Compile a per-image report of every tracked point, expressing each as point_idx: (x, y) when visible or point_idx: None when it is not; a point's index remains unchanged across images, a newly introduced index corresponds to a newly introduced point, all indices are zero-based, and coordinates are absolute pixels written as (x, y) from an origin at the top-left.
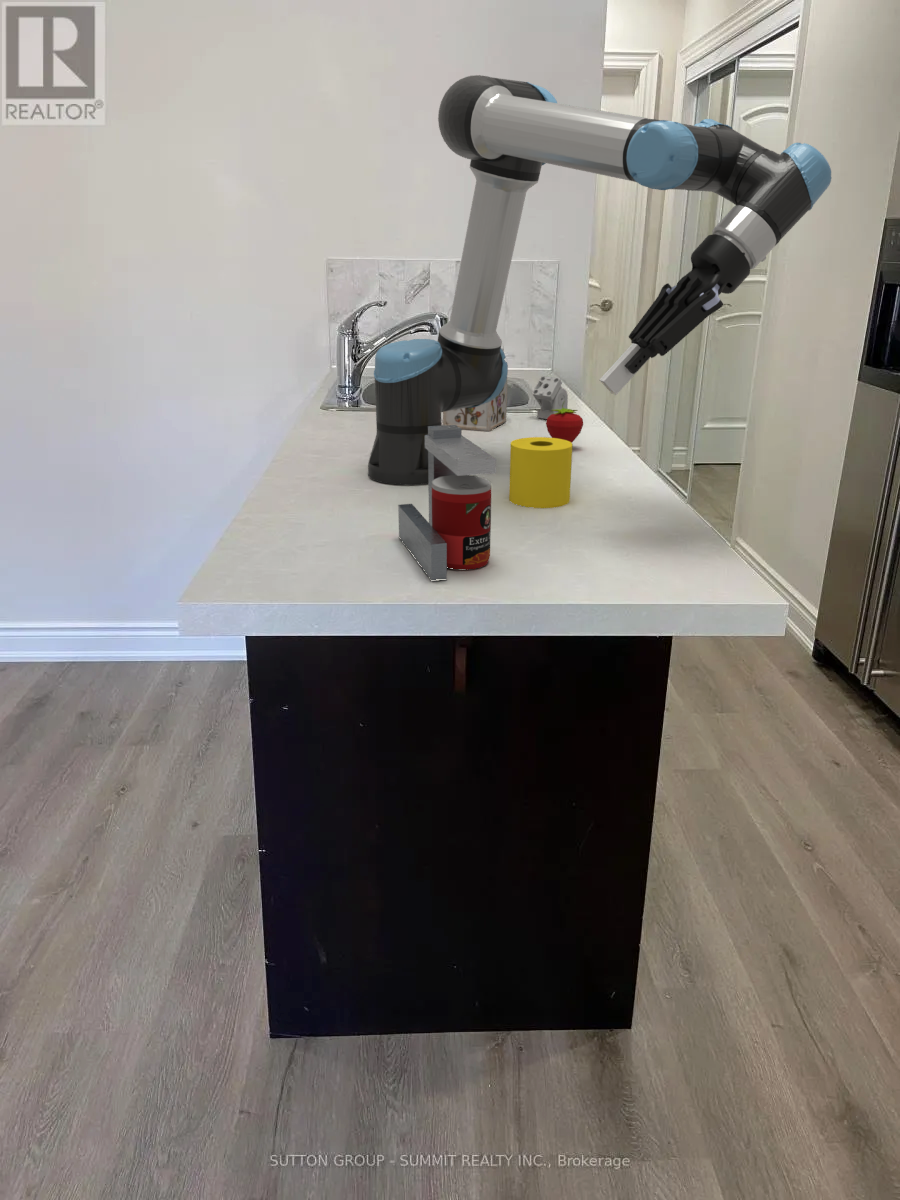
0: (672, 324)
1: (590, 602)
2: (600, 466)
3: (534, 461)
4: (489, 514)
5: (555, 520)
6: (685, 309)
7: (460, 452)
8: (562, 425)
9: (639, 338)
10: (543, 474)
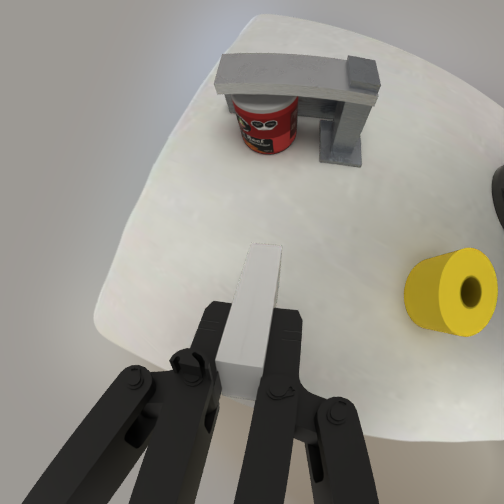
0: (76, 440)
1: (141, 195)
2: (490, 406)
3: (437, 266)
4: (243, 123)
5: (361, 274)
6: (54, 502)
7: (263, 63)
8: None
9: (192, 362)
10: (424, 279)
